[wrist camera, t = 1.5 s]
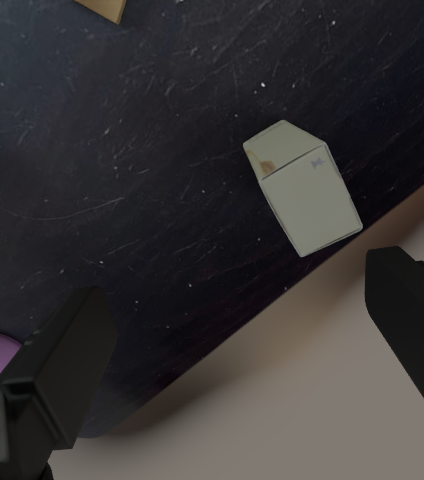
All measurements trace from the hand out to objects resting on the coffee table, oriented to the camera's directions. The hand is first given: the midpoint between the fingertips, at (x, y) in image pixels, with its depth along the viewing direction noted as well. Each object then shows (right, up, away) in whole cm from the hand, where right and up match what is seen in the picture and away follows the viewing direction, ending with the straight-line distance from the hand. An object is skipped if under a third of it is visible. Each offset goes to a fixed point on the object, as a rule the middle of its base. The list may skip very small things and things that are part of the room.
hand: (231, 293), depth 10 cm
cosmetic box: (+6, +9, +20) cm, 23 cm away
